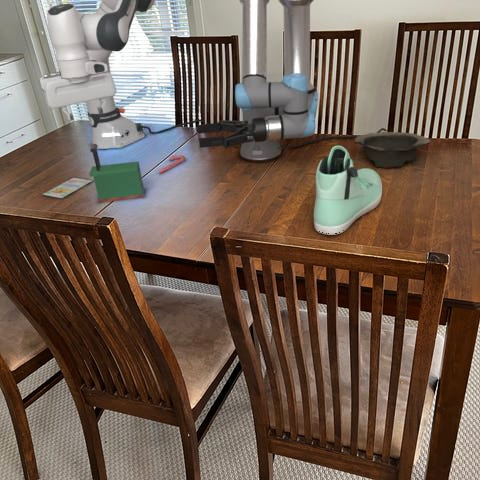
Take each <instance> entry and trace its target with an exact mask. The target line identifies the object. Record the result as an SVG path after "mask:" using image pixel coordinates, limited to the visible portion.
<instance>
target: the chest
mask: <svg viewBox="0 0 480 480" xmlns="http://www.w3.org/2000/svg"><path fill="white" fill-rule="evenodd" d="M92 177H93V182H94V185H95V189H96V193H97V197H98V202H99V203H105V202H115V201H125V200H132V199H143V198H144V195H145V187H144V181H143V177H142V172H141V166H140V165H139V168H138V171H136V172H127V173H118V174H109V175H99V176H92Z"/></svg>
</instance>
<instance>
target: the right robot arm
mask: <svg viewBox="0 0 480 480" xmlns="http://www.w3.org/2000/svg"><path fill="white" fill-rule="evenodd" d="M278 2H279V3H280V4H281V6H282V8H283V12H282V13H283V61H284V62H283V65H284V68H283V69H284V75H283V76H282V80H281V81H269V82H268V81H267V78H268V77H267V71H268V70H267V65H268V63H267V55H268V54H267V51H268V49H267V46H268V45H267V39H268V37H267V33H268V32H267V25H268V24H267V22H268V19H267V18H268V17H267V11H268V9H267V8H268V7H267V5H268V4H269V3H270V0H239V3H240V4H241V5H242V43H241V44H242V52H241V53H242V54H241V56H242V60H241V61H242V64H241V65H242V66H241V69H242V70H241V71H242V72H241V82H240V83H237V84H236V85H235V89H234V100H235V104H236V107H237V108H239V109H241V111H242V120H227V119H226V120H225V119H219V120H218V121H217V122H212V123H203V124H196V127H197V134H199V135H200V134H209V133H221V132H227V133H229V134H226V135H224V134H223V135H222V134H221V135H219V136H209V137H207V136H206V137H199V138H198V144H199V148H200V149H201V148H211V147H212V148H213V147H223V148H224V149H229V148H232V147H236V146H239V145H241V147H240V151H239V152H240V154H239V155H240V158H241V159H243V160H245V161H246V162H247V161H248V162H253V163H263V162H270V161H273V160H276V159H278V158H279V157H280V156H281V155H282V148H289V149H296V148H300V147H302V146H304V145H307V144H310V143H314V142H318V141H321V140H327V139H343V138H344V139H351V138H356V137H358V136H360V135H361V134H355V135H354V134H353V135H331V136H329V135H328V136H323V137H318V138H314V139H310V140H307V141H305V142H302V143H300V144H296V145H286V144H284V145H283V144H280V142H279V141H280V140H291V139H302V138H308V137H312V136H313V135H314V134H315V132H316V127H317V125H316V117H317V110H318V104H319V102H318V101H319V92H318V91H315V86H314V85H313V84H312V83H311V5H312V3H313V2H314V0H278ZM379 132H388V130H387V129H386V128H384V127H381V128H380V129H379V130H377V131H376V133H379Z"/></svg>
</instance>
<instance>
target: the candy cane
mask: <svg viewBox="0 0 480 480" xmlns="http://www.w3.org/2000/svg"><path fill="white" fill-rule="evenodd" d="M174 160H175V161H174ZM185 160H186V157H185V155H182V154H175V155H172V156H170V157H169V161H170V162H171V163H169V164H167V165H166V166H163V167H162V168H160V169H159V170H158V173H159V174H162V173H164V172H166V171H168V170H170V169H172V168H174V167H176V166H178V165H179V164H181V163H184V162H185ZM172 161H173V162H172Z"/></svg>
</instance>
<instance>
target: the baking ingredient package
mask: <svg viewBox="0 0 480 480" xmlns="http://www.w3.org/2000/svg"><path fill="white" fill-rule="evenodd" d="M89 183H92V180H90V179H84V178H80V177H79V178H78V177H72V178H70V179H68V180H66V181H64V182H62V183H61V184H58V185H57V186H55V187H53V188H52V189H50V190H48V191H46V192H44V193H42V195H44V196H48V197H53V198H59V199H64V198H65V197H67V196H69V195H70V194H72V193H74V192H75V191H78V190H79V189H81V188H82V187H85V186H86V185H88V184H89Z"/></svg>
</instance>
